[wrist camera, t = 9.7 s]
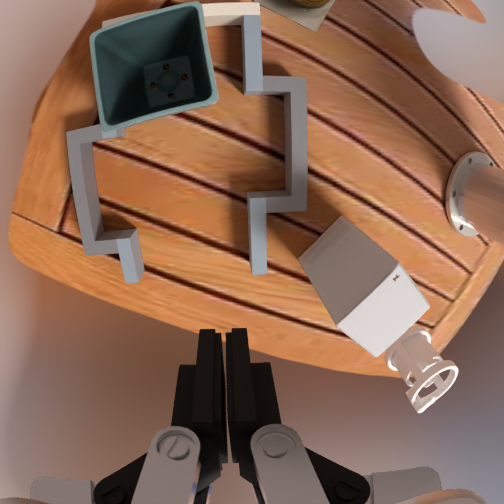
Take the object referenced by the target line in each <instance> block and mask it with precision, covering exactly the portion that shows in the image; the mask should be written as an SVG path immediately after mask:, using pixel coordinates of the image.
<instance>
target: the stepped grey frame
mask: <svg viewBox="0 0 504 504" xmlns="http://www.w3.org/2000/svg"><path fill="white" fill-rule="evenodd" d="M202 7H203V14H204V20H205V26H206V27H207V26H226V25H241V31H242V63H243V94H244V95H284V129H285V190H277V191H254V192H247V210H248V238H249V263H250V267H251V272H252V275H261V274H267V240H266V213H274V212H295V211H307V166H308V143H307V90H306V77H291V76H263V72H262V45H261V22H260V3H251V2H235V3H209V4H202ZM157 10H158V9H157ZM152 11H155V10H151V11H145V12H140V13H135V14H131V15H126V16H122V17H118V18H114V19H110V20H106V21H102V28H103V27H107V26H109V25H112V24H115V23H117V22H121V21H123V20H126V19H130V18H132V17H136V16H139V15H142V14H145V13H148V12H152ZM66 136H67V148H68V158H69V167H70V175H71V182H72V189H73V195H74V202H75V207H76V213H77V218H78V223H79V228H80V233H81V237H82V242H83V246H84V250H85V255H86V256H89V255H102V254H114V253H119V256H120V261H121V265H122V270H123V274H124V278H125V283H139V281H140V279H141V276H142V274H143V272H144V265H143V260H142V254H141V249H140V243H139V237H138V231H137V228H135V229H125V230H115V231H105V232H104V227H103V222H102V216H101V210H100V204H99V198H98V191H97V184H96V176H95V168H94V158H93V148H92V142H95V141H100V140H105V139H110V138H116V137H121V136H126V128H123V129H119V130H115V131H112V132H104V131H103V130H102V128H101V124H98V125H94V126H89V127H85V128H81V129H76V130H72V131H69V132H66Z"/></svg>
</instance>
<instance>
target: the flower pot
mask: <svg viewBox="0 0 504 504" xmlns="http://www.w3.org/2000/svg"><path fill="white" fill-rule="evenodd" d="M89 45H90V53H91V62H92V71H93V78H94V86H95V92H96V100H97V106H98V112H99V119H100V124H101V128H102V130H103V131H104V132H112V131H115V130H119V129H123V128H126V127H130V126H133V125H136V124H139V123H143V122H146V121H150V120H153V119H157V118H160V117H164V116H168V115H172V114H176V113H180V112H184V111H189V110H193V109H198V108H203V107H207V106H211V105H213V104H215V103H216V102H217V101H218V99H219V94H218V89H217V85H216V80H215V75H214V70H213V65H212V60H211V55H210V49H209V43H208V38H207V32H206V26H205V20H204V14H203V7H202V4H201V3H200V2H199V1H191V2H186V3H182V4H178V5H173V6H170V7H166V8H162V9H158V10H155V11H152V12H148V13H145V14H142V15H139V16H136V17H132V18H130V19H126V20H123V21H121V22H117V23H115V24H112V25H109V26H107V27H103V28H101V29H98V30H97V31H95V32H93V33H92V34H91V35H90V37H89ZM166 65H169V69H165V68H164V67H165V66H166ZM184 75H187V77H188V78H187V79H186V80H183V78H182V77H183V76H184ZM153 83H155V84H156V87H155V88H152V87H151V85H152V84H153ZM171 93H173V94H174V98H172V99H171V98H169V95H170V94H171Z"/></svg>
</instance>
